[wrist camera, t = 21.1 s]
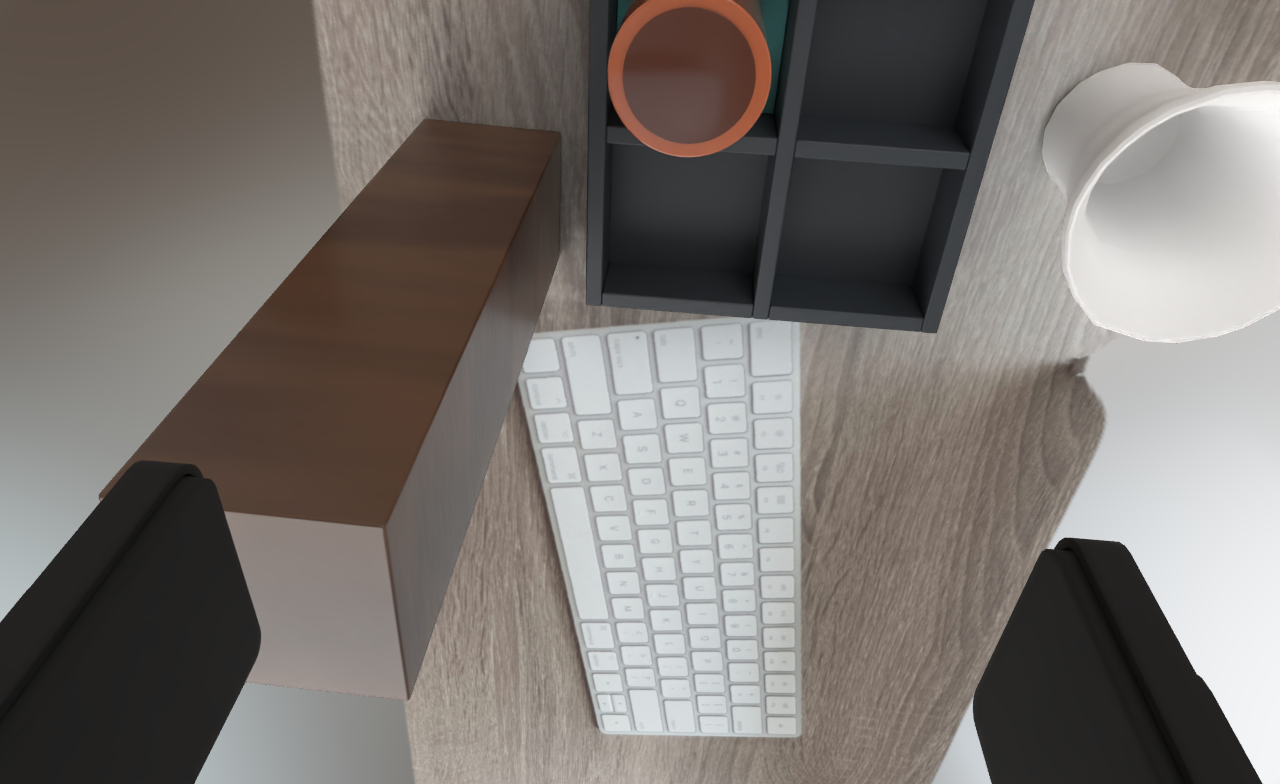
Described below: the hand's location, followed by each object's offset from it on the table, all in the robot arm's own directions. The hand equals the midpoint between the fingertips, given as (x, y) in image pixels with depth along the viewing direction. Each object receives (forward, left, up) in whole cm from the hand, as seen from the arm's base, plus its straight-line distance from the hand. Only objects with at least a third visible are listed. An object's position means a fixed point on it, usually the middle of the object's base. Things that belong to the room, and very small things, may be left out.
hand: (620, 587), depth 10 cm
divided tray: (+5, +1, -29) cm, 30 cm away
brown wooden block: (+2, -11, -29) cm, 32 cm away
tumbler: (0, 0, -29) cm, 29 cm away
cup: (+12, +13, -30) cm, 34 cm away
